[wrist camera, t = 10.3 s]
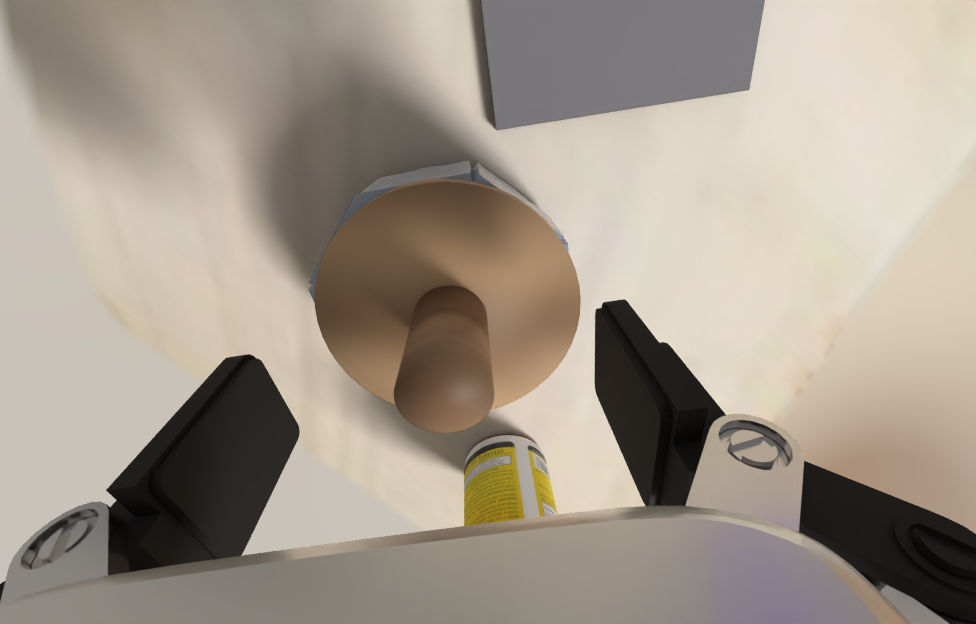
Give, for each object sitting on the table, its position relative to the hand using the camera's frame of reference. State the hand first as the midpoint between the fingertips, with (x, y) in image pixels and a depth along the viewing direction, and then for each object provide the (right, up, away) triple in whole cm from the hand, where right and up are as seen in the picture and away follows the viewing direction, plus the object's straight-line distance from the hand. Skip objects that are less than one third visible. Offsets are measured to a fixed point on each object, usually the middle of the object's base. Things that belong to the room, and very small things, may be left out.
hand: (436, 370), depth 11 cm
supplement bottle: (+3, -8, +15) cm, 17 cm away
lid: (0, +2, +4) cm, 5 cm away
